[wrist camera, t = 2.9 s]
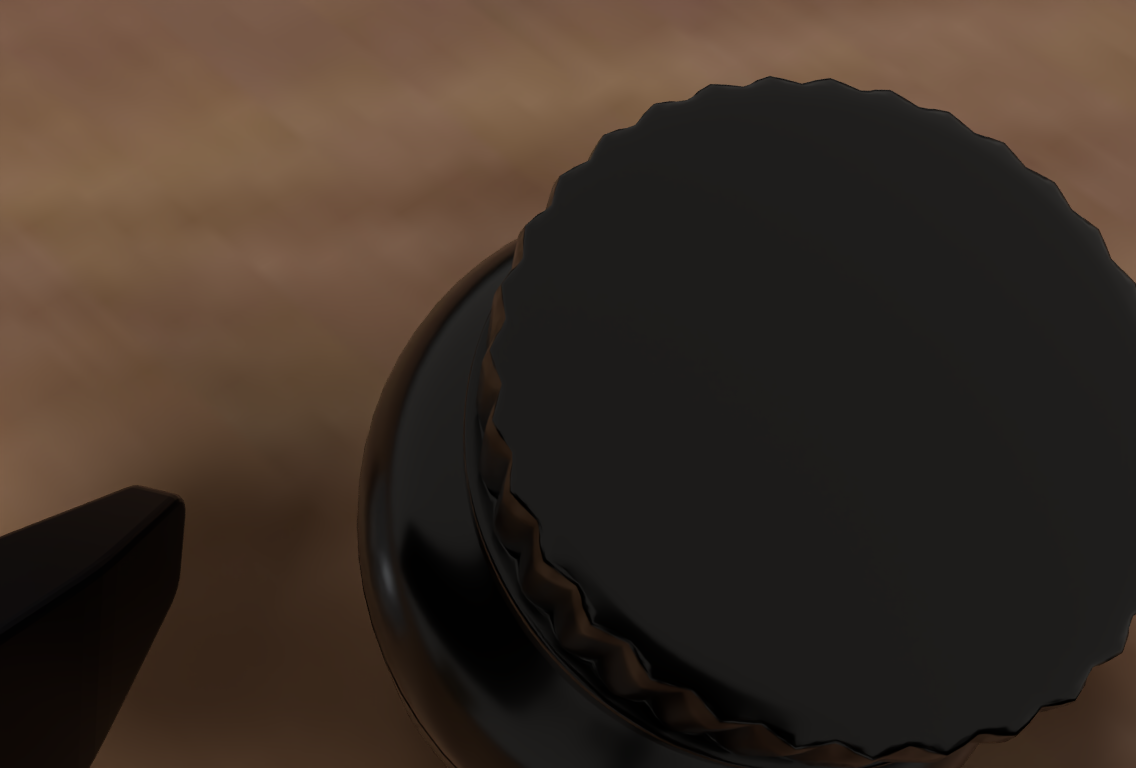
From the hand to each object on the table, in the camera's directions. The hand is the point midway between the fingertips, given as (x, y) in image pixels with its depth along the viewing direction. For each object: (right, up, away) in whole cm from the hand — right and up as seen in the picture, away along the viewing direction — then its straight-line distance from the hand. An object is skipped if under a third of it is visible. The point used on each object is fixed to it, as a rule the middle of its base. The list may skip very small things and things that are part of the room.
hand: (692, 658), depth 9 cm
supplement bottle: (-1, -2, +9) cm, 9 cm away
